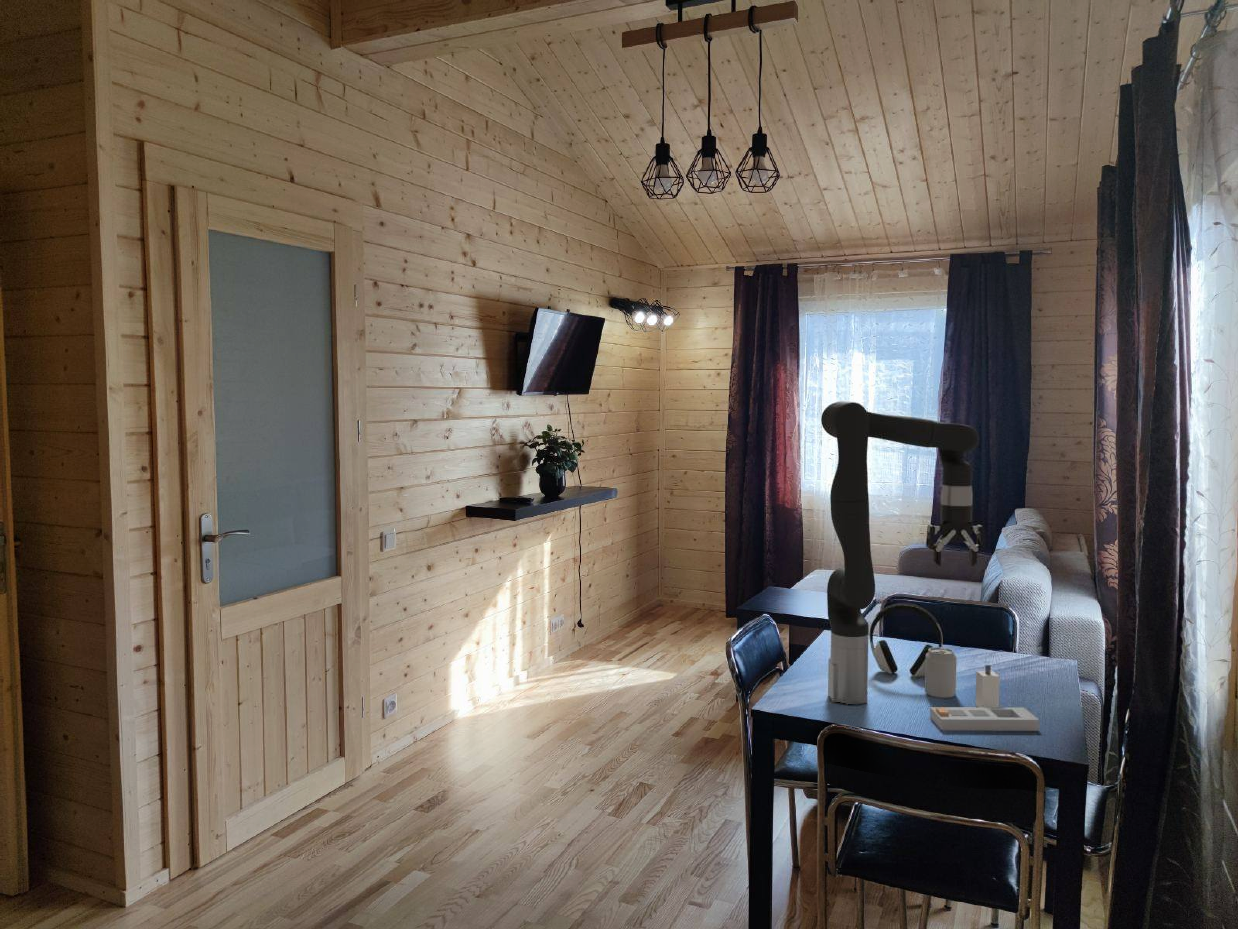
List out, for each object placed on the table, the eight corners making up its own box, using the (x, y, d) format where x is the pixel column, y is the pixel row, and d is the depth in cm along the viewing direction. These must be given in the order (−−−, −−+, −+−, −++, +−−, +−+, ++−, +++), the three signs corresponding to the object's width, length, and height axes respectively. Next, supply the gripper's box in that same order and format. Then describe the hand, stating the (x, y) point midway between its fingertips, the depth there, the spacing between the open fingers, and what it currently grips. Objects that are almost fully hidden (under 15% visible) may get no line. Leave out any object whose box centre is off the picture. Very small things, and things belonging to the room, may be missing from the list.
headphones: (866, 675, 247) (868, 603, 245) (870, 666, 254) (871, 597, 253) (941, 683, 239) (942, 609, 238) (942, 674, 247) (944, 603, 246)
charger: (981, 712, 218) (983, 668, 217) (975, 706, 222) (976, 663, 221) (998, 712, 218) (999, 668, 217) (991, 706, 222) (992, 663, 221)
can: (919, 695, 230) (920, 649, 229) (932, 688, 235) (934, 644, 234) (947, 702, 225) (948, 655, 224) (960, 695, 230) (962, 649, 229)
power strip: (941, 732, 205) (941, 716, 205) (929, 719, 213) (930, 704, 213) (1038, 732, 205) (1038, 716, 204) (1023, 720, 213) (1024, 704, 212)
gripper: (933, 504, 225) (931, 568, 227) (990, 504, 225) (988, 568, 226) (923, 501, 233) (922, 563, 234) (979, 501, 232) (977, 563, 234)
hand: (954, 565), depth 230 cm, fingers open, 8 cm apart
